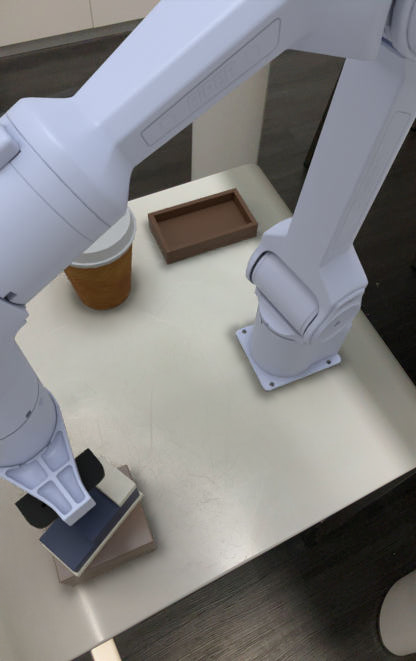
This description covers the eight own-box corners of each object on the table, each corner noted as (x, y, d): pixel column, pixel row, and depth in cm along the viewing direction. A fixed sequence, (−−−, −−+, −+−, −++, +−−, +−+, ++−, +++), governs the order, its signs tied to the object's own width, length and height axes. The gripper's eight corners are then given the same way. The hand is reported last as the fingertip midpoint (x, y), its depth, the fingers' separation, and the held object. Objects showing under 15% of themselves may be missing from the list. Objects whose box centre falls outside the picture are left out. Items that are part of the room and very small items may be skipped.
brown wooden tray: (234, 200, 69) (236, 187, 67) (256, 236, 66) (258, 224, 64) (148, 225, 66) (147, 213, 64) (167, 264, 63) (166, 252, 61)
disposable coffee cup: (131, 247, 64) (120, 175, 54) (154, 308, 60) (147, 242, 50) (55, 268, 62) (29, 196, 52) (74, 332, 58) (48, 268, 48)
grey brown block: (132, 477, 50) (126, 463, 46) (157, 548, 47) (153, 541, 43) (51, 510, 49) (38, 499, 44) (71, 586, 45) (59, 582, 41)
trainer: (109, 468, 46) (100, 451, 41) (143, 496, 45) (138, 482, 40) (43, 545, 42) (26, 536, 38) (78, 577, 41) (65, 572, 37)
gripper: (-138, 352, 30) (-46, 428, 42) (-7, 549, 25) (56, 572, 37) (-30, 287, 33) (28, 376, 45) (108, 454, 28) (133, 504, 39)
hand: (46, 461), depth 41 cm, fingers open, 7 cm apart
